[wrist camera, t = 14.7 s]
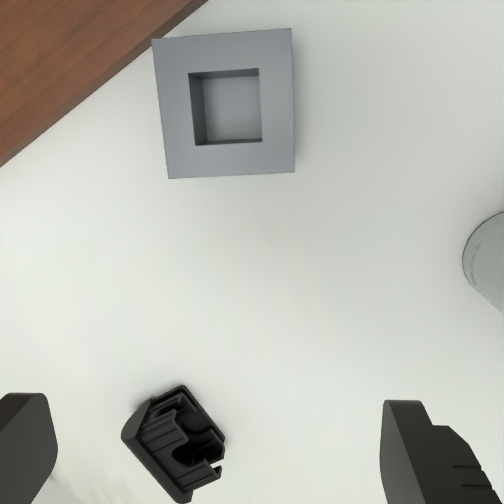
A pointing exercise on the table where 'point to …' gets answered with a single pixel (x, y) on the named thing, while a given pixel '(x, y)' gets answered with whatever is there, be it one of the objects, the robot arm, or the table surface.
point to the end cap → (176, 443)
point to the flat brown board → (69, 55)
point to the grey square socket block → (226, 103)
